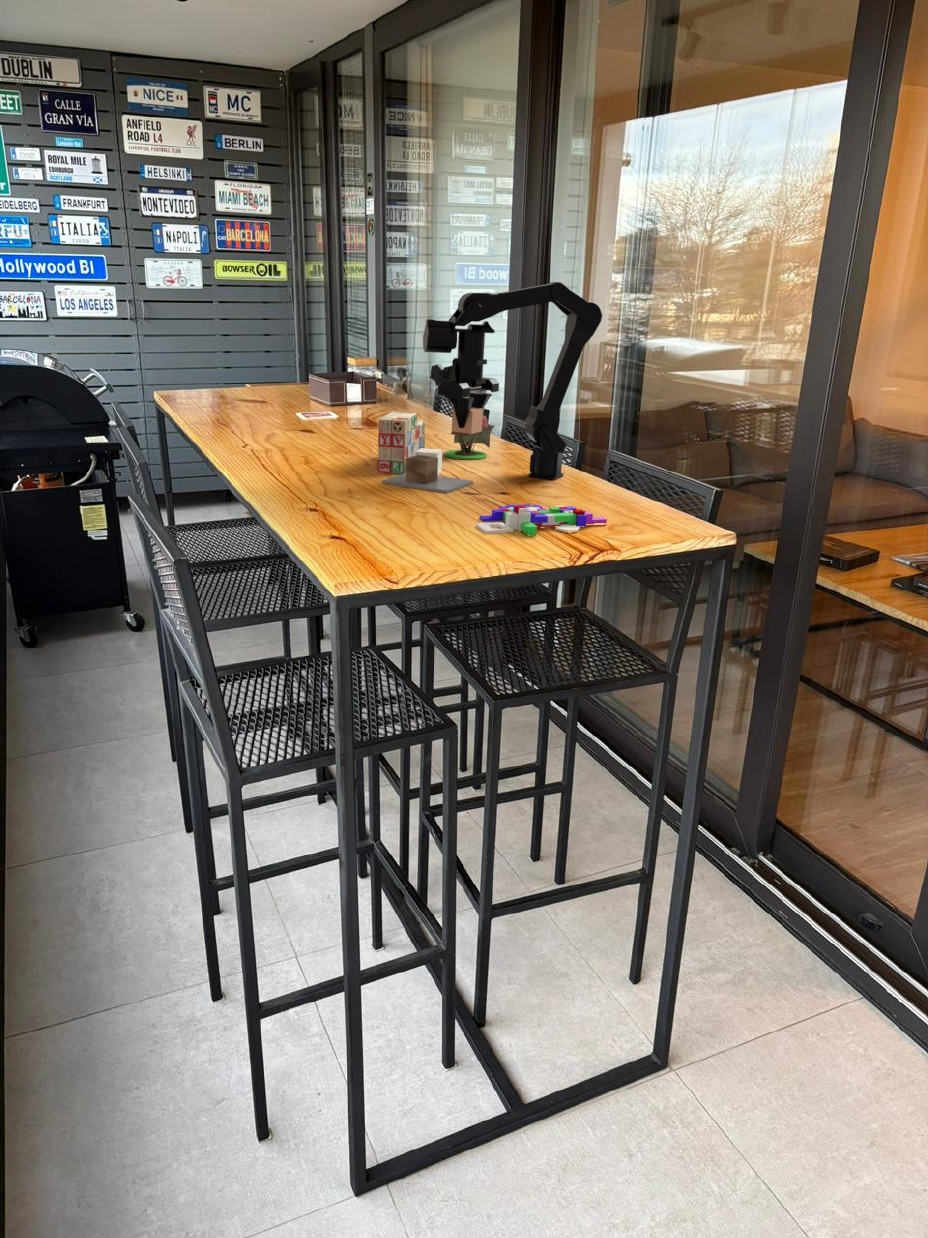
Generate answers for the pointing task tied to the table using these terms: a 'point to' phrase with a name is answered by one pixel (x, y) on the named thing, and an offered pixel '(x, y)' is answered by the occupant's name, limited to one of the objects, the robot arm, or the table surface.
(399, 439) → the stack of blocks
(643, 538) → the table surface
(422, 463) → the walnut brick
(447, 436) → the table surface
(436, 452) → the offwhite brick
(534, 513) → the building block set
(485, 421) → the plant figurine
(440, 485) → the plate
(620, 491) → the table surface
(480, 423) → the terracotta brick
